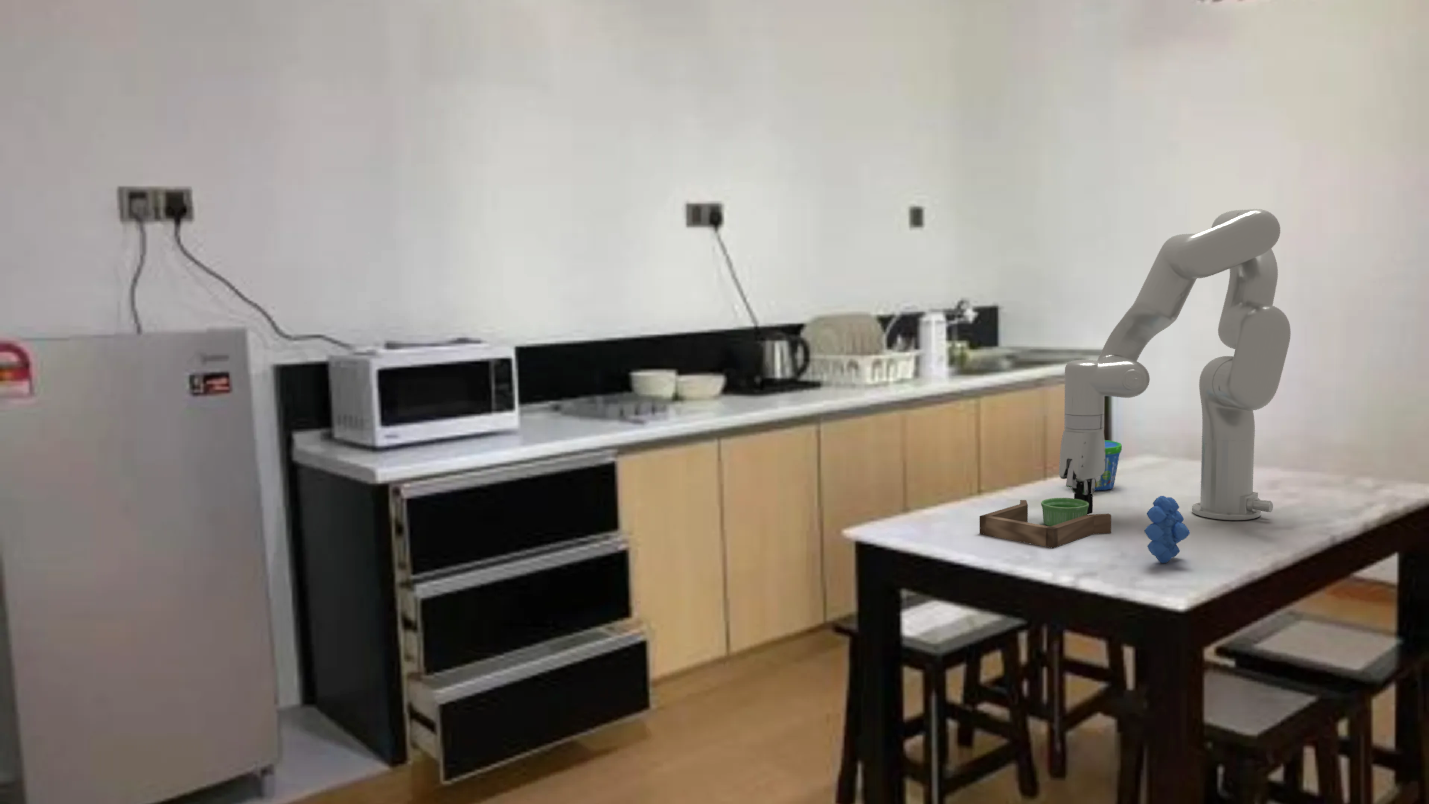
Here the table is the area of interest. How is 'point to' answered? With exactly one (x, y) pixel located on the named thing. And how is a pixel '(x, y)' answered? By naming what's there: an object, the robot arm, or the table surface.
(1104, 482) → the snack cup
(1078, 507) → the ramekin
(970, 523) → the table surface
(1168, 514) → the grapes
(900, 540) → the table surface
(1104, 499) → the table surface
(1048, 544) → the walnut holder
